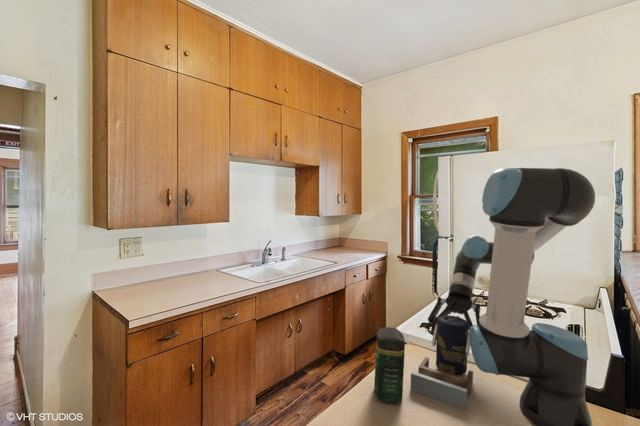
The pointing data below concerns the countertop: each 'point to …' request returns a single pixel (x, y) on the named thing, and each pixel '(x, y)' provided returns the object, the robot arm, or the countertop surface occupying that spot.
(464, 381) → the bracket
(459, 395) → the backstop wall
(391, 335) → the coffee jar
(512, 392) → the countertop surface
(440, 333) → the canister
